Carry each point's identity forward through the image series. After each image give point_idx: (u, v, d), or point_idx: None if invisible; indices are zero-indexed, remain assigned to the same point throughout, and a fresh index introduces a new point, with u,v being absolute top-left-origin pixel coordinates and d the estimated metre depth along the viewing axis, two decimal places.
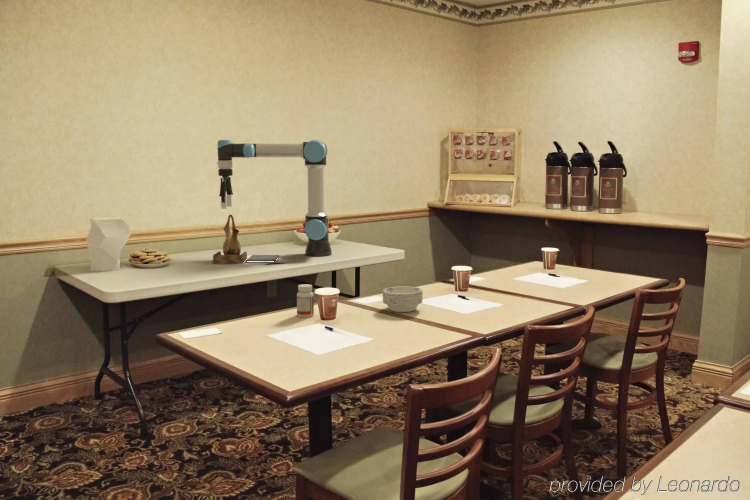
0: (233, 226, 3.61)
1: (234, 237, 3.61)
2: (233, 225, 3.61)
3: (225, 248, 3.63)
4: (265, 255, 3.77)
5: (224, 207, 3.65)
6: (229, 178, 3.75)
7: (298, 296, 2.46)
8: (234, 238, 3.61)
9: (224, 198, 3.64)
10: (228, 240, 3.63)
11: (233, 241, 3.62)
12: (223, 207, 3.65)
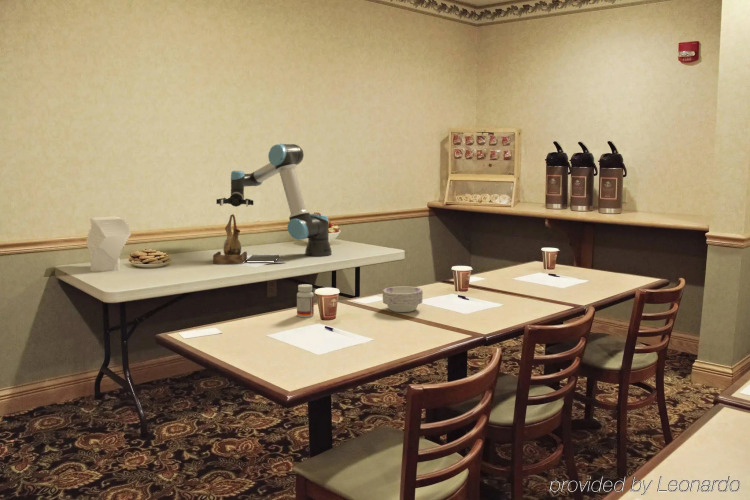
0: (234, 226, 3.61)
1: (235, 237, 3.61)
2: (234, 225, 3.61)
3: (225, 248, 3.63)
4: (265, 255, 3.77)
5: (220, 202, 3.71)
6: (245, 199, 3.87)
7: (298, 296, 2.46)
8: (235, 238, 3.61)
9: (220, 200, 3.76)
10: (229, 240, 3.63)
11: (234, 241, 3.62)
12: (220, 203, 3.71)
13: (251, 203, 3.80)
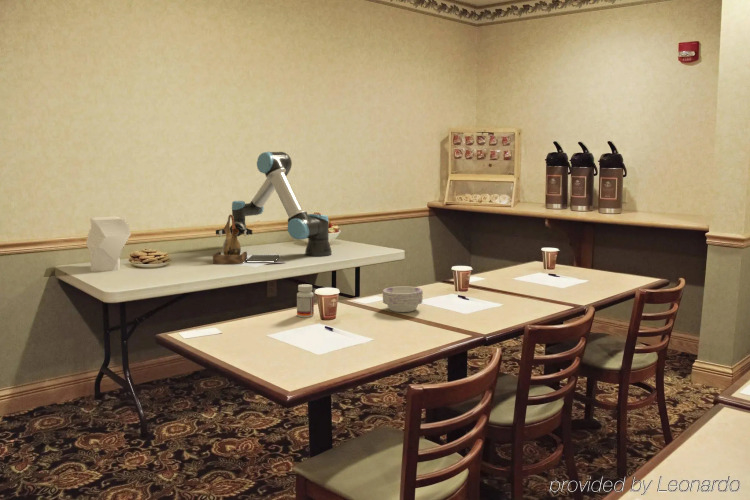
0: (233, 226, 3.61)
1: (234, 237, 3.61)
2: (233, 225, 3.61)
3: (225, 248, 3.63)
4: (265, 255, 3.77)
5: (219, 233, 3.73)
6: (245, 229, 3.89)
7: (298, 296, 2.46)
8: (234, 238, 3.61)
9: (219, 231, 3.78)
10: (228, 240, 3.63)
11: (233, 241, 3.62)
12: (219, 234, 3.73)
13: (250, 233, 3.81)
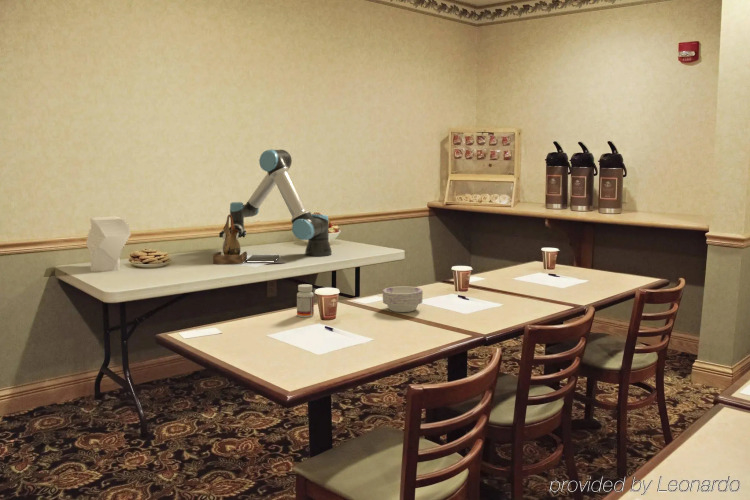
0: (232, 226, 3.61)
1: (233, 237, 3.61)
2: (232, 225, 3.61)
3: (225, 248, 3.63)
4: (265, 255, 3.77)
5: (223, 236, 3.61)
6: (244, 231, 3.77)
7: (298, 296, 2.46)
8: (233, 238, 3.61)
9: (223, 234, 3.66)
10: (227, 240, 3.63)
11: (232, 241, 3.62)
12: (223, 237, 3.61)
13: (242, 235, 3.68)
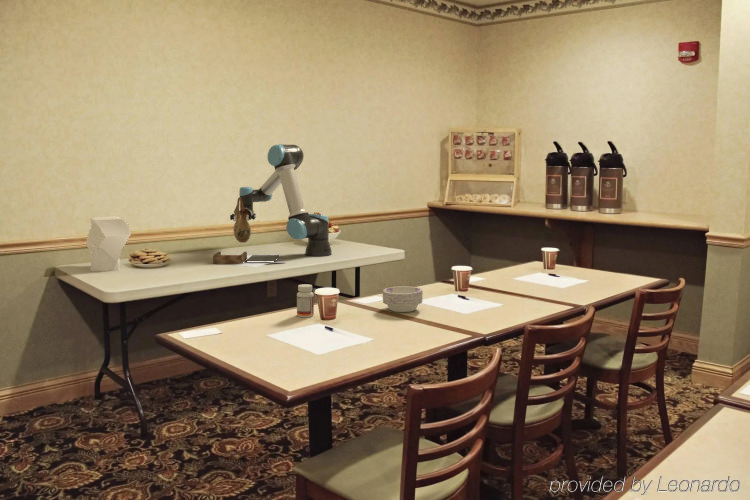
0: (242, 208, 3.70)
1: (243, 219, 3.70)
2: (242, 207, 3.70)
3: (235, 230, 3.72)
4: (265, 255, 3.77)
5: (234, 218, 3.70)
6: (253, 214, 3.87)
7: (298, 296, 2.46)
8: (243, 220, 3.70)
9: (233, 216, 3.75)
10: (238, 222, 3.72)
11: (243, 223, 3.71)
12: (234, 218, 3.70)
13: (252, 218, 3.77)
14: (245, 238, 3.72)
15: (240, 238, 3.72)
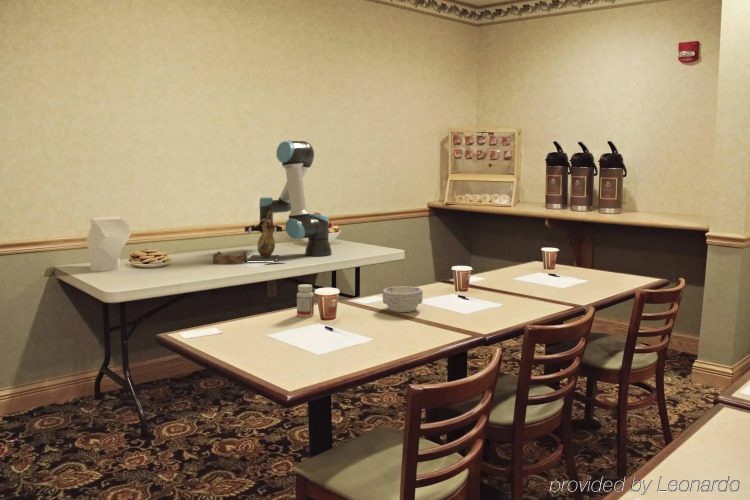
0: (270, 221, 3.66)
1: (270, 232, 3.65)
2: (271, 221, 3.66)
3: (259, 242, 3.66)
4: None
5: (248, 230, 3.65)
6: None
7: (298, 296, 2.46)
8: (270, 233, 3.65)
9: (248, 228, 3.70)
10: (264, 235, 3.67)
11: (268, 236, 3.65)
12: (249, 231, 3.65)
13: (280, 230, 3.73)
14: (268, 252, 3.66)
15: (263, 251, 3.66)
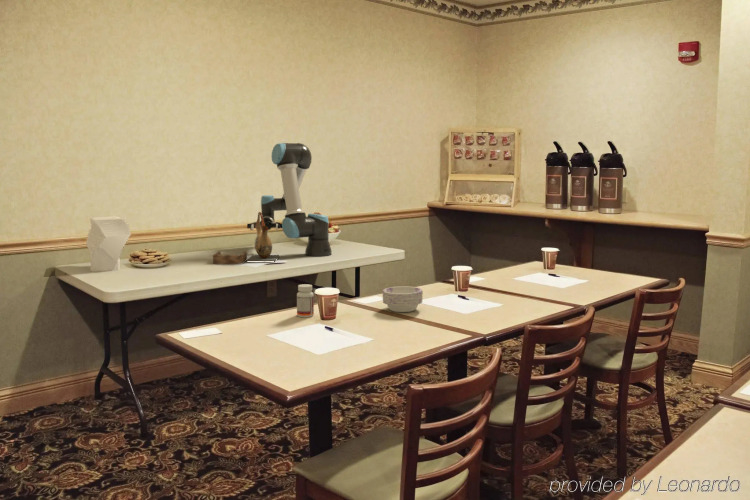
0: (262, 224, 3.62)
1: (264, 235, 3.62)
2: (262, 223, 3.62)
3: (256, 246, 3.65)
4: None
5: (251, 226, 3.78)
6: (276, 223, 3.94)
7: (298, 296, 2.46)
8: (264, 236, 3.62)
9: (250, 225, 3.83)
10: (259, 238, 3.64)
11: (263, 239, 3.63)
12: (251, 227, 3.78)
13: (281, 226, 3.86)
14: (266, 254, 3.65)
15: (261, 254, 3.65)
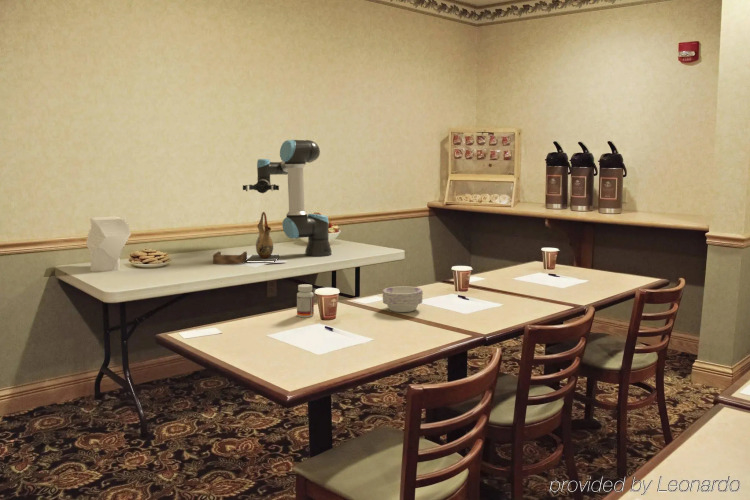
0: (265, 223, 3.63)
1: (266, 234, 3.63)
2: (265, 222, 3.63)
3: (257, 245, 3.65)
4: None
5: (246, 187, 3.77)
6: None
7: (298, 296, 2.46)
8: (266, 235, 3.63)
9: (246, 186, 3.81)
10: (260, 237, 3.65)
11: (265, 238, 3.64)
12: (246, 188, 3.77)
13: (276, 188, 3.84)
14: (267, 254, 3.65)
15: (262, 254, 3.65)
